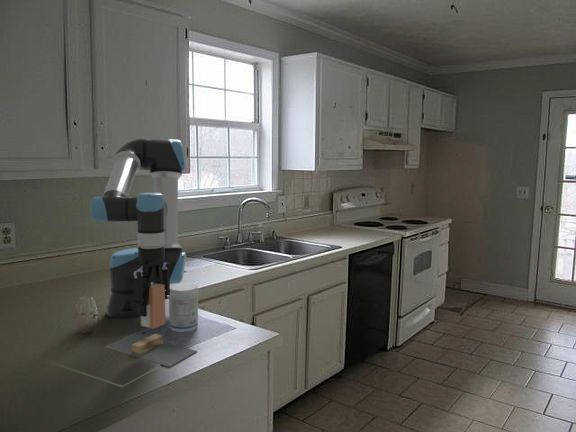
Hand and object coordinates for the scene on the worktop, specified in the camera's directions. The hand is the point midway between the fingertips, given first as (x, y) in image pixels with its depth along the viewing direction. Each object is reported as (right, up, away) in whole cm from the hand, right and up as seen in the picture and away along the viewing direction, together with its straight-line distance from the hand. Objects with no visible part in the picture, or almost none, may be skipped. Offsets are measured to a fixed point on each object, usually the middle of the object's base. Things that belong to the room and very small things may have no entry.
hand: (153, 322), depth 143 cm
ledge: (-2, -9, +3) cm, 9 cm away
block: (0, 0, 0) cm, 1 cm away
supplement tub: (+5, -6, +20) cm, 22 cm away
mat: (-2, -9, +2) cm, 9 cm away
